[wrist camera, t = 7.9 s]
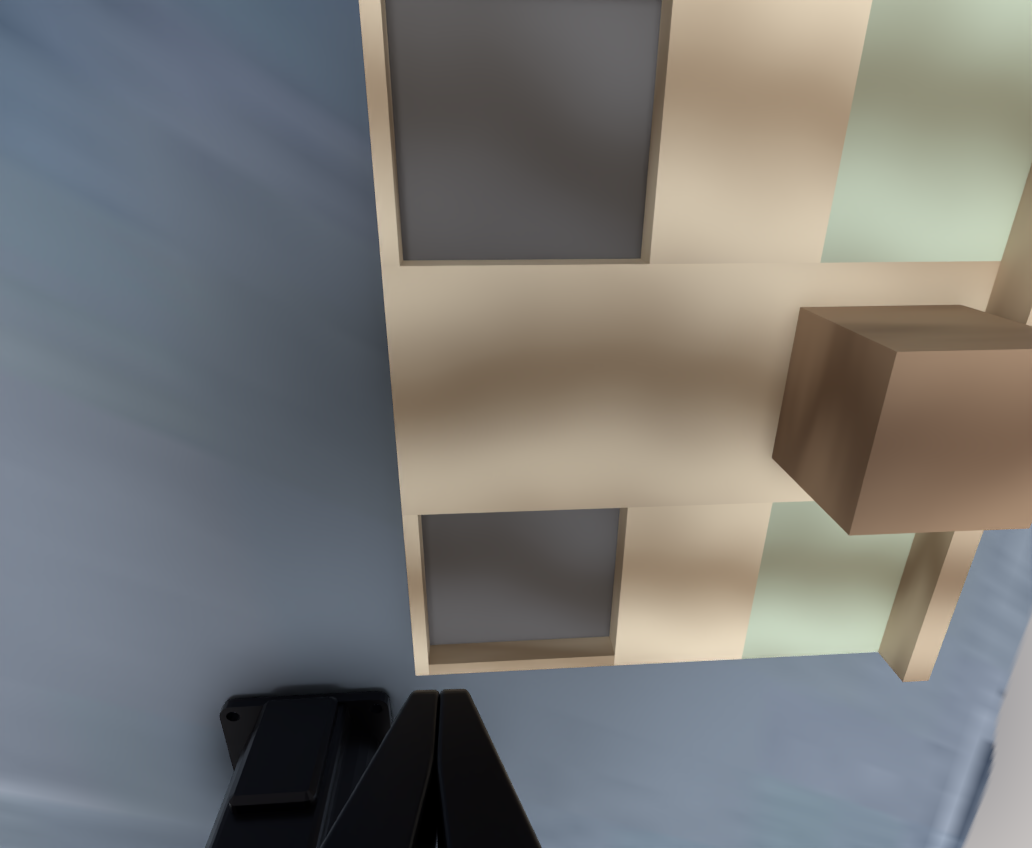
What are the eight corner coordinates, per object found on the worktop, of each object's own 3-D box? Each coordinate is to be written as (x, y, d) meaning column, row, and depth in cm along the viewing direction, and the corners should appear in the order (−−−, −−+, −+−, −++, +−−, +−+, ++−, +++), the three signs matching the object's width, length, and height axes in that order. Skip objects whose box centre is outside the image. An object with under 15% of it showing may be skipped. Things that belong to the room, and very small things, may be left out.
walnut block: (916, 453, 20) (1029, 528, 16) (771, 457, 20) (848, 535, 16) (960, 304, 18) (1101, 347, 14) (800, 307, 18) (897, 351, 14)
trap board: (883, 628, 25) (928, 680, 23) (418, 651, 24) (412, 708, 22) (1085, -15, 16) (1195, -45, 14) (363, -31, 15) (342, -67, 13)
